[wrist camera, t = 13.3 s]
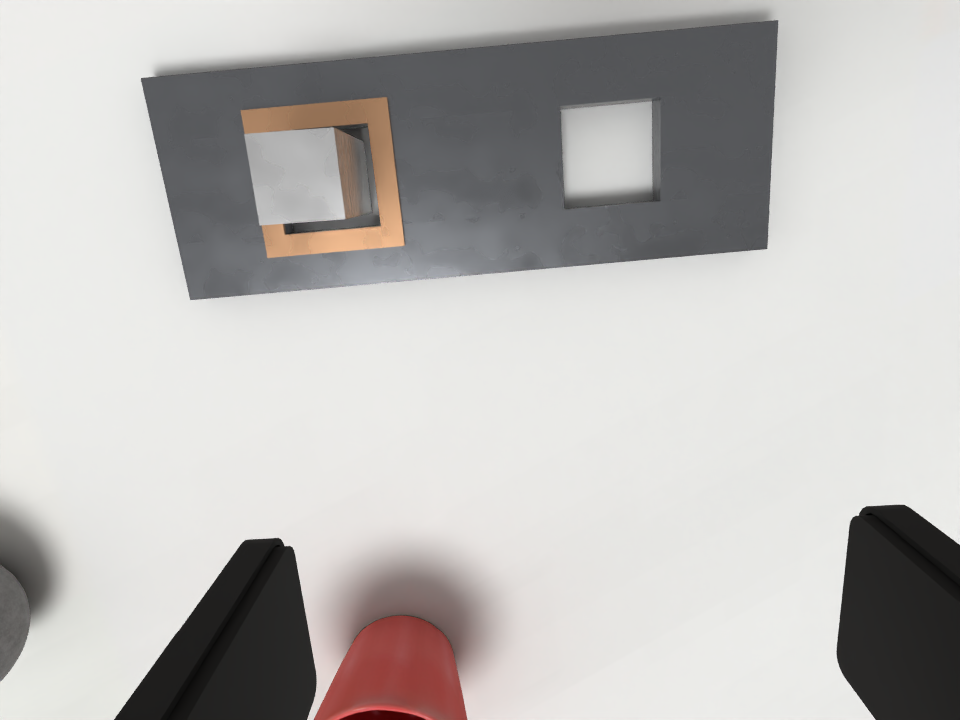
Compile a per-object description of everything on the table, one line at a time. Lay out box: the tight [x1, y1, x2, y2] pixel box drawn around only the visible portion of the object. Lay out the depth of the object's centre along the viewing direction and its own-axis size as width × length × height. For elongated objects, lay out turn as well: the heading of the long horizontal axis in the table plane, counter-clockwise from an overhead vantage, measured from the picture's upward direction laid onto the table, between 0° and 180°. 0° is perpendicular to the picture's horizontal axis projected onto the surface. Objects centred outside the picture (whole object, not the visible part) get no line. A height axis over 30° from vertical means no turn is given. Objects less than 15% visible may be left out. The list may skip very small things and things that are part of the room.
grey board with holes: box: [141, 20, 778, 300], centre depth 34 cm, size 34×12×2 cm, turn 95°
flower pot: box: [314, 616, 467, 720], centre depth 39 cm, size 11×11×10 cm
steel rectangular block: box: [244, 127, 372, 225], centre depth 31 cm, size 4×4×8 cm
